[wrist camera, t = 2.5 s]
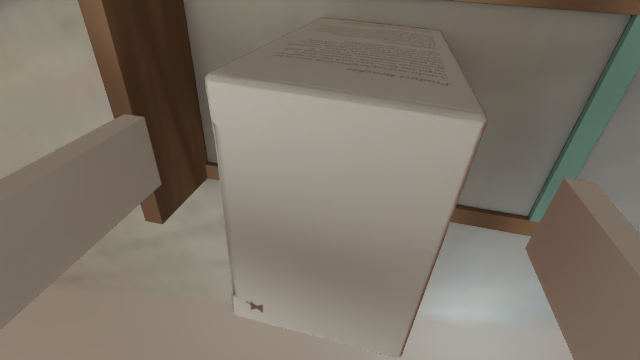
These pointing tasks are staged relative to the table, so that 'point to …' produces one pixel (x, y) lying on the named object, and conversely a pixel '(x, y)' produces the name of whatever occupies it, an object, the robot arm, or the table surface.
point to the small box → (341, 175)
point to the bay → (185, 121)
